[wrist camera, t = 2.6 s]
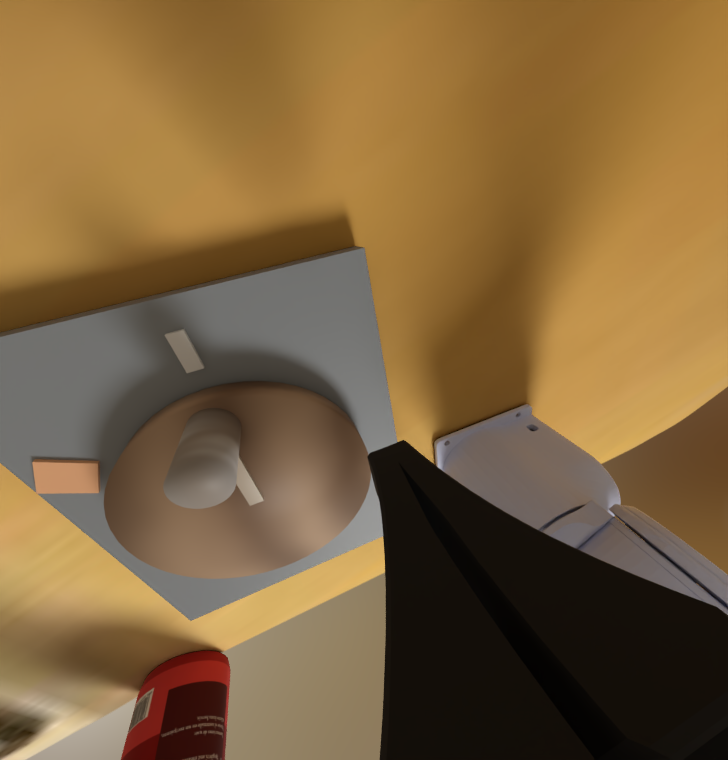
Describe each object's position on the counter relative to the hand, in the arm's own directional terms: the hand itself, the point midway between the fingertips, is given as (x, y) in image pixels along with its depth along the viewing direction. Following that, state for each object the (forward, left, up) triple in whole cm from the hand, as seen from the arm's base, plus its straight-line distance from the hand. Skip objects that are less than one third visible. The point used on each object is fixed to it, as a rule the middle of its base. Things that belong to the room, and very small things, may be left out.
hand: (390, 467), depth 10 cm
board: (+7, +6, -9) cm, 13 cm away
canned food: (+22, +28, -10) cm, 36 cm away
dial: (+7, +6, -8) cm, 12 cm away
